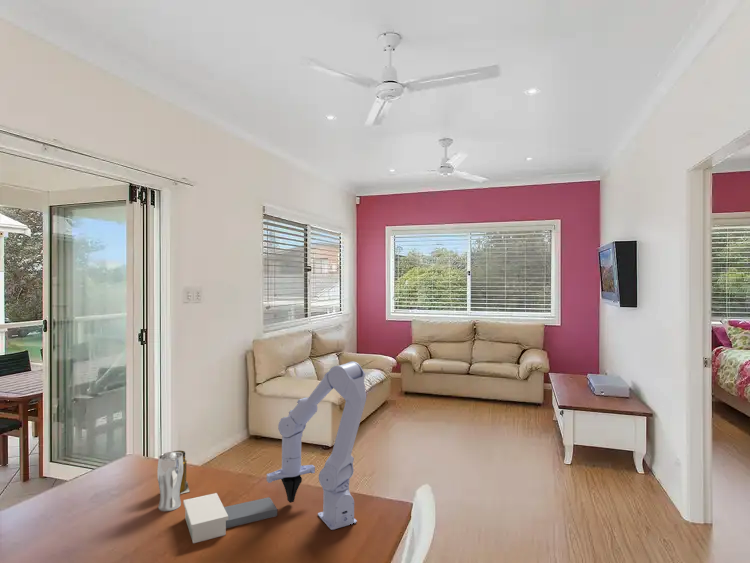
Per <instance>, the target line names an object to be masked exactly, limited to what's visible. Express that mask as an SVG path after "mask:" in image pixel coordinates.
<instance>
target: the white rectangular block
mask: <svg viewBox="0 0 750 563" xmlns="http://www.w3.org/2000/svg"><path fill="white" fill-rule="evenodd" d="M182 504H183V507H184V510H185V515H184V516H185V518H184V519H185V521H186V526H187V528H188V532H189V535H190V538H191V540H192V541H191V542H192V544H196V543H197V544H198V543H200V542H204V541H208V540H211V539H215V538H219V537H224V536H226V532H227V531H226V530H227V528H226V520H228V514H227V512H226V510H225V508H224V507H225V506H224V504H223V503H222V501H221V498H220V496H219V495H218V492H214V493H210V494H205V495H200V496H197V497H193V498H192V497H191V498H187V499H183V502H182Z"/></svg>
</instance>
